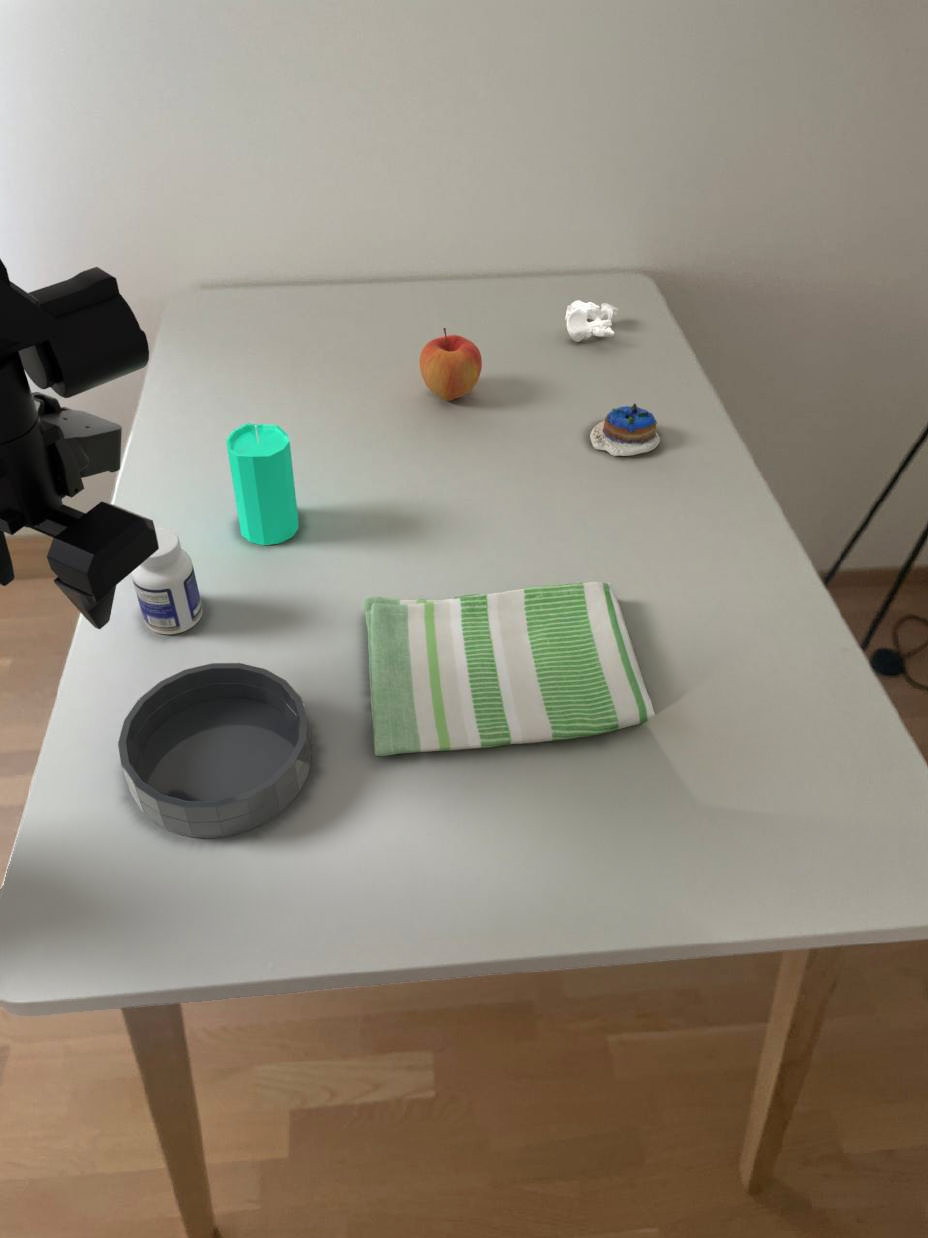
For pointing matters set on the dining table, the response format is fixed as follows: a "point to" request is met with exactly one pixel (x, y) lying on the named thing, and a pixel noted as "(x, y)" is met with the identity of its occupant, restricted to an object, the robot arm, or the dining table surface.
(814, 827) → the dining table surface
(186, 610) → the pill bottle
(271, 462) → the candle
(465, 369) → the apple
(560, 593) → the dish towel
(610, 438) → the dessert
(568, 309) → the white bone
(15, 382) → the robot arm
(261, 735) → the pan
